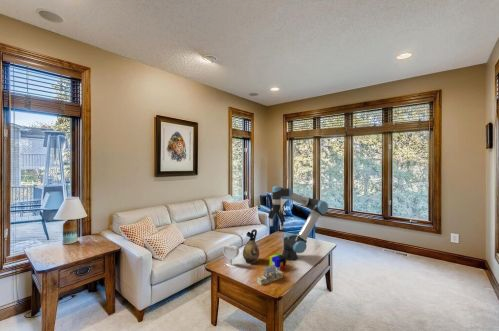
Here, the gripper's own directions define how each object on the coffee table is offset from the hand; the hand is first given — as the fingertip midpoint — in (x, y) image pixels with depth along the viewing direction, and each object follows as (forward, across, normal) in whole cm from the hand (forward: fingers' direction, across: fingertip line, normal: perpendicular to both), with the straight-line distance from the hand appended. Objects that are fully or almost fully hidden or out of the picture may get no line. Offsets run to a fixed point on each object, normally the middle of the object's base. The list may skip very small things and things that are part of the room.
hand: (276, 227), depth 210 cm
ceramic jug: (+35, -21, -12) cm, 42 cm away
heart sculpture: (+35, -24, -33) cm, 54 cm away
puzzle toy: (+35, +3, -1) cm, 35 cm away
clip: (+34, +16, -20) cm, 42 cm away
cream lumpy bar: (+35, +16, -20) cm, 43 cm away
